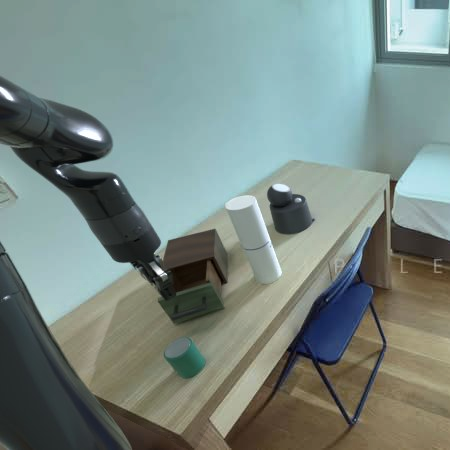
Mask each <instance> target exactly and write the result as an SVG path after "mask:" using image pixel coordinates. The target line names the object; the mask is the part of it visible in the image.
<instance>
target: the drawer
mask: <svg viewBox="0 0 450 450" xmlns="http://www.w3.org/2000/svg"><path fill="white" fill-rule="evenodd" d="M171 272H172V277H173V284H171V286H172V288H173V289H174V291H175V292H176V296H175V297H173V298H172V299H170V300H168V301H165V300H164V299H163V298H162V297H161V296H159V297H158V298H157V302H158V305H160V307H161V308H162V310H163V311H164V313H165V314H166V315H167V317H168V318H169V320H170V321H171V323H172V324H174V325H175V324H178V323H181V322H184V321H187V320H189V319H193V318H196V317H199V316H202V315H205V314H208V313H211V312H214V311H217V310H220V309H224V308H225V303H224V302H223V300H222V297H221V296H222V295H221V294H222V284H221V276H220V274H219V272H218V270H217V268H216V266H215V264H214V262H213V260H212V259H210V260H207V261H203V262H199V263H196V264H192V265H189V266H185V267H182V268H178V269H174V270H171Z"/></svg>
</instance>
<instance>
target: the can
mask: <svg viewBox="0 0 450 450" xmlns="http://www.w3.org/2000/svg"><path fill="white" fill-rule="evenodd" d="M163 358H164V359H165V361H167V362H168V364H169V365H170V366H171V368H172V369H173V370H174V371H175V372H176V373H177V374H178V376H179V377H180V378H182V379H190V378H193V377H194V376H196V375H198V374H199V373H200V372H201V371H203V369H204V368H205V365H206V358H205V357H204V355H203V354H202V352H201V351H200V350H199V348H198V346H197V345H196V344H195V342H194V341H193V339H192V338H191V337H188V336H187V337H186V336H183V337H179V338H177V339H175V340H173V341H171V342H170V343H169V344H168V345H167V346H166V347H165V349H164V351H163Z"/></svg>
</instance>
